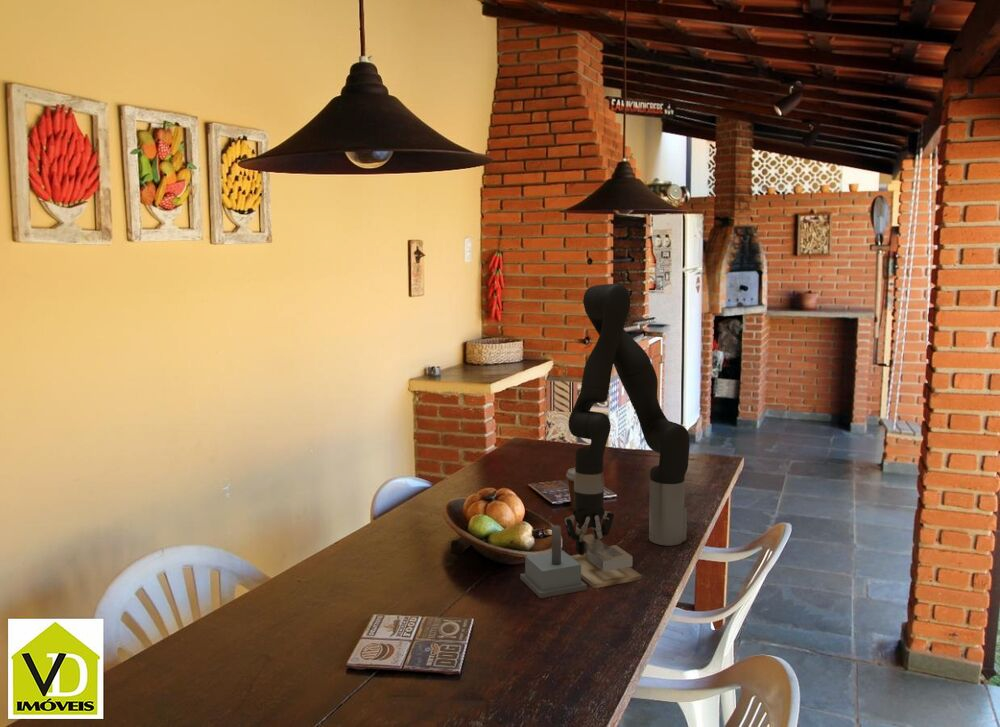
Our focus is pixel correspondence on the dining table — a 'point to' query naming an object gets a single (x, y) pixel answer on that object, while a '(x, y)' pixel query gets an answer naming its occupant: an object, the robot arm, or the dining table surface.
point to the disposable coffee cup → (571, 485)
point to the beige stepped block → (605, 554)
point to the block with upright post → (553, 571)
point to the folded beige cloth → (604, 573)
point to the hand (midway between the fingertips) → (588, 552)
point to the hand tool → (459, 546)
